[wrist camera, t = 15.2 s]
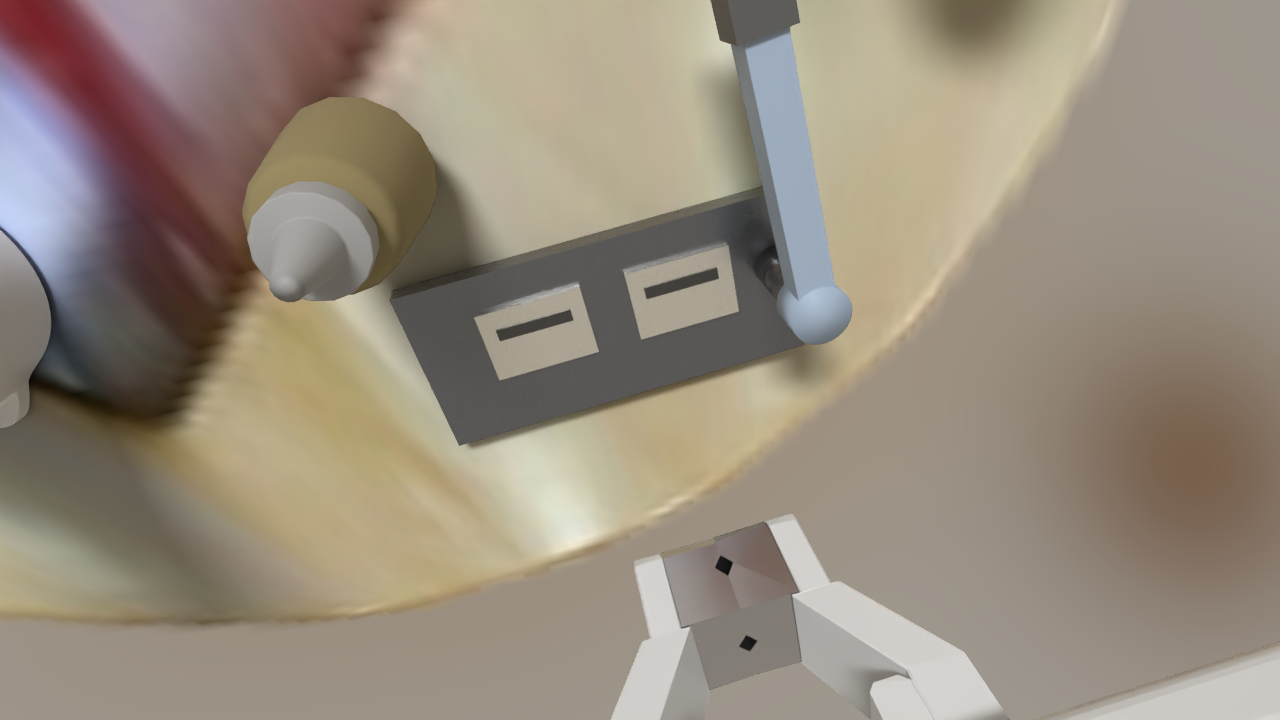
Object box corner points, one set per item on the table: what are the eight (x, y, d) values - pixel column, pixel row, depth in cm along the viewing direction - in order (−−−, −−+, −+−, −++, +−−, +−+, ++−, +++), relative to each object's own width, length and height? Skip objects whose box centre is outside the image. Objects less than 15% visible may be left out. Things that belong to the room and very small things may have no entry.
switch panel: (460, 433, 49) (455, 489, 44) (392, 290, 43) (378, 336, 38) (796, 335, 50) (831, 378, 45) (779, 181, 44) (818, 211, 39)
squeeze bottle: (450, 104, 38) (419, 198, 23) (434, 237, 42) (398, 396, 26) (294, 68, 36) (143, 146, 20) (291, 212, 39) (163, 370, 24)
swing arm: (836, 311, 42) (856, 332, 39) (782, 331, 42) (799, 354, 39) (766, -78, 30) (789, -82, 28) (692, -49, 30) (709, -51, 28)
